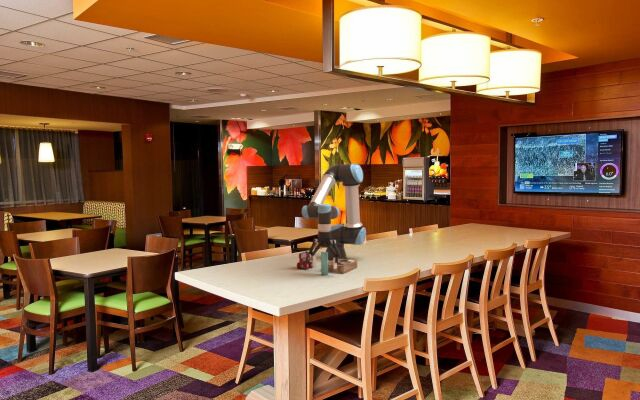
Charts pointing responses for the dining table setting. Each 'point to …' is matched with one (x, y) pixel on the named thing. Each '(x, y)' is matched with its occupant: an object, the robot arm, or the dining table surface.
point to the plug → (324, 263)
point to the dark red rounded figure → (304, 261)
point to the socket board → (342, 266)
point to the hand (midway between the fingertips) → (324, 267)
